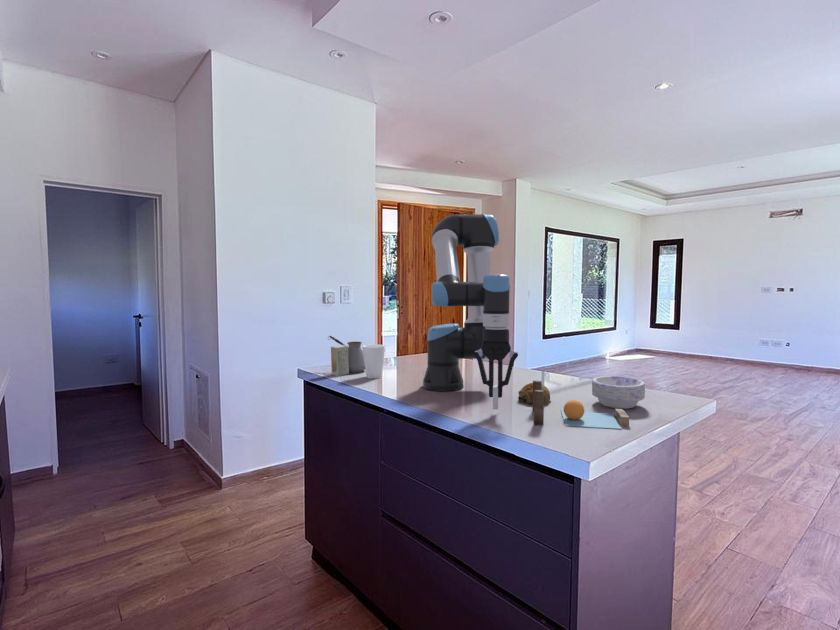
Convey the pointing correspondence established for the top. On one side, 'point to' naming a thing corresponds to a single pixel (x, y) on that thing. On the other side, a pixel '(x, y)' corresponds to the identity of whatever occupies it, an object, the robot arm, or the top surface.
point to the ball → (574, 410)
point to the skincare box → (339, 360)
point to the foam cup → (373, 359)
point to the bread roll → (527, 394)
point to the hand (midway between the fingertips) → (495, 408)
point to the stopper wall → (622, 417)
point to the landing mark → (593, 421)
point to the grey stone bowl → (618, 391)
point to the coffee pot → (354, 356)
